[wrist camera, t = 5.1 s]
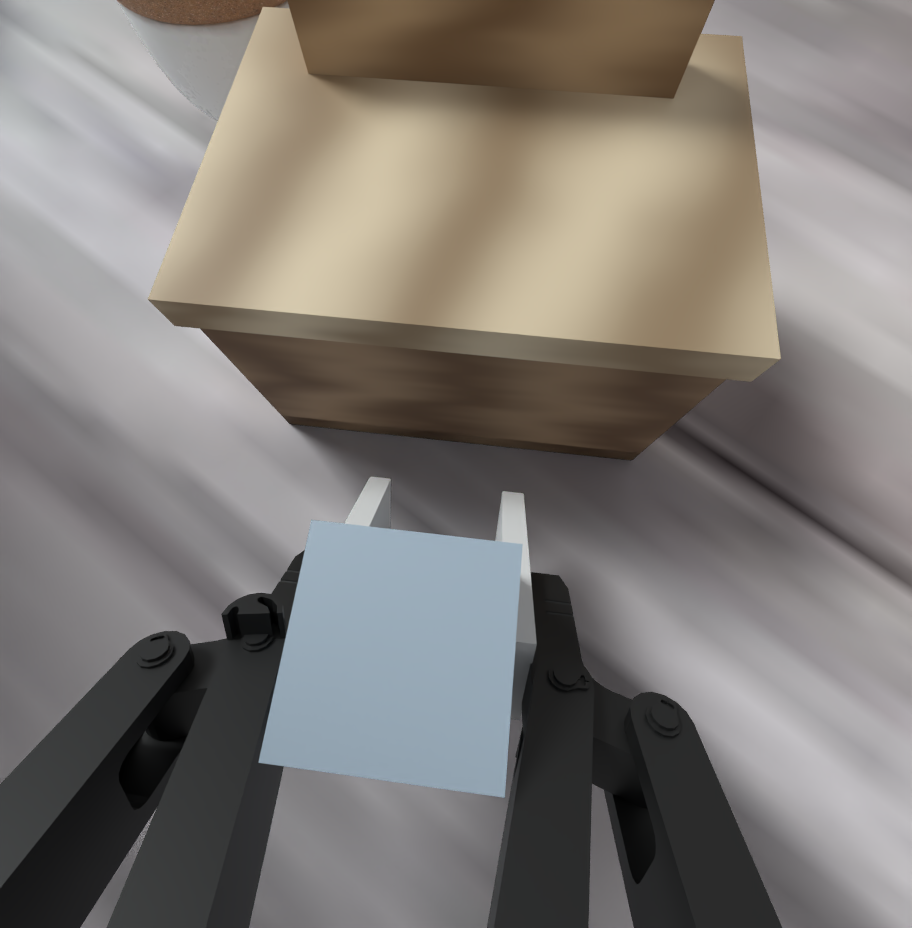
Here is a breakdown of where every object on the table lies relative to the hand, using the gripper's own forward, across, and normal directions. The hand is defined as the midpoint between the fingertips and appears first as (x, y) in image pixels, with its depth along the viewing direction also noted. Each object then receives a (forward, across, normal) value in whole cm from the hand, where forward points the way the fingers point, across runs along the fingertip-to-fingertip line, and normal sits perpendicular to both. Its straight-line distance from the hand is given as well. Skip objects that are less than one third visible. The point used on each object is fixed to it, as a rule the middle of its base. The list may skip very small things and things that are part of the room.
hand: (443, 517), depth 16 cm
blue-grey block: (0, 0, -5) cm, 5 cm away
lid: (+4, 0, +11) cm, 11 cm away
